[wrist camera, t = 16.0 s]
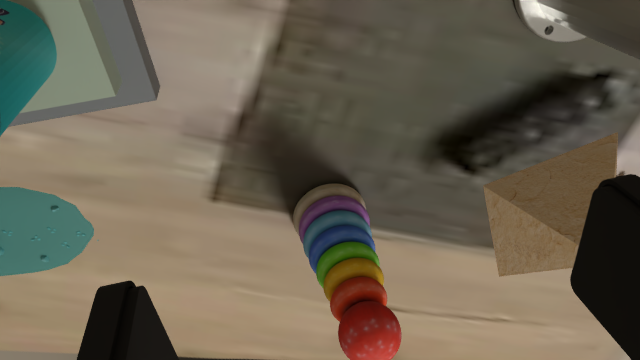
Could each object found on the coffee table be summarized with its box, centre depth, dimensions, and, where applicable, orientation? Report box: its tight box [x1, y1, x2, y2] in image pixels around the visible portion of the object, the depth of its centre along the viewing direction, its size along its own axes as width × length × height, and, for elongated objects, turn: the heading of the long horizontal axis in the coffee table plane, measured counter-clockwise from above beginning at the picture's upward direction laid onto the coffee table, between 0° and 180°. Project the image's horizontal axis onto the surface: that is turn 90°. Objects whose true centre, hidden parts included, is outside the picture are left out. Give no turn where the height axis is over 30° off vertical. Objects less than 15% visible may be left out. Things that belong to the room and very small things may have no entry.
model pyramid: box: [483, 132, 618, 276], centre depth 54 cm, size 17×17×10 cm
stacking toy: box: [293, 183, 401, 360], centre depth 43 cm, size 8×8×19 cm
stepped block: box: [8, 0, 160, 127], centre depth 33 cm, size 14×14×6 cm
